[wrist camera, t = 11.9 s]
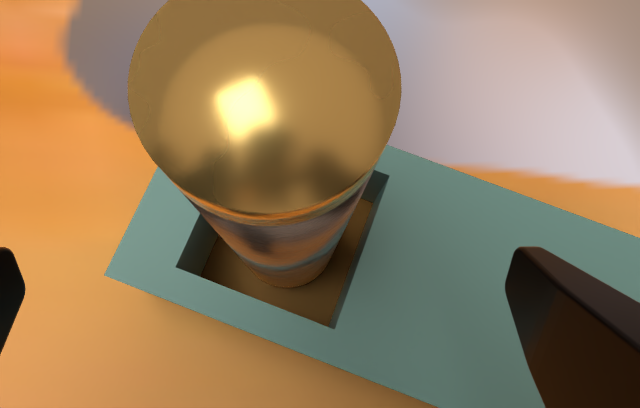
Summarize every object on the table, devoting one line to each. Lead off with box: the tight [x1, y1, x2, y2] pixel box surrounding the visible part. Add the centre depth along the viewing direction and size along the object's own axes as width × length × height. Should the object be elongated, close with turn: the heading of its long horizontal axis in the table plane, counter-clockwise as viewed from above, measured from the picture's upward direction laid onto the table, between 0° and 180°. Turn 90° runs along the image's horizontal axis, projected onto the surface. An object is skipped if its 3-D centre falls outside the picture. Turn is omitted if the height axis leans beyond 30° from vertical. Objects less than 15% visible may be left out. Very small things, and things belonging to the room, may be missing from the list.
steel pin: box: [128, 0, 401, 288], centre depth 14 cm, size 4×4×14 cm
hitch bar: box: [104, 145, 640, 408], centre depth 18 cm, size 20×8×4 cm, turn 69°
